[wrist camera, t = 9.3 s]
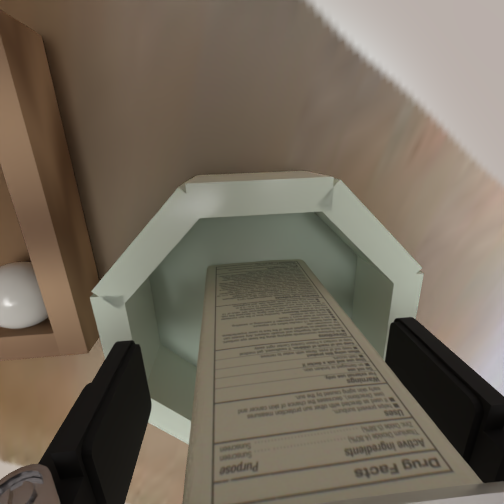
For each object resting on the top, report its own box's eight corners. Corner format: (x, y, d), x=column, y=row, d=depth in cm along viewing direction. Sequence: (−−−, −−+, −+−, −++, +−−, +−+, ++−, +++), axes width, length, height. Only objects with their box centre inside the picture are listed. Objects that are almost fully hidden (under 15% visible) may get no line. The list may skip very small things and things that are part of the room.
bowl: (109, 179, 13) (62, 189, 9) (383, 167, 14) (441, 171, 10) (152, 398, 17) (132, 466, 14) (359, 378, 18) (394, 437, 14)
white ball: (2, 254, 14) (-58, 279, 11) (66, 251, 14) (23, 275, 11) (21, 308, 15) (-30, 345, 12) (80, 305, 15) (44, 340, 12)
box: (212, 335, 16) (184, 710, 5) (206, 262, 14) (149, 571, 4) (306, 328, 16) (461, 663, 5) (310, 256, 14) (527, 520, 4)
